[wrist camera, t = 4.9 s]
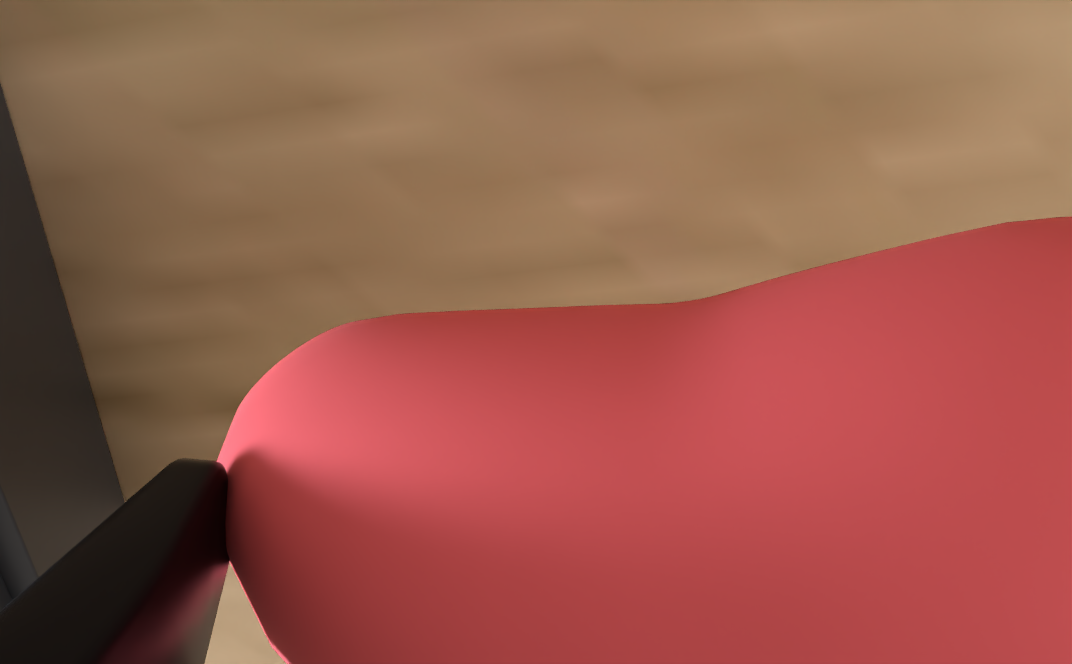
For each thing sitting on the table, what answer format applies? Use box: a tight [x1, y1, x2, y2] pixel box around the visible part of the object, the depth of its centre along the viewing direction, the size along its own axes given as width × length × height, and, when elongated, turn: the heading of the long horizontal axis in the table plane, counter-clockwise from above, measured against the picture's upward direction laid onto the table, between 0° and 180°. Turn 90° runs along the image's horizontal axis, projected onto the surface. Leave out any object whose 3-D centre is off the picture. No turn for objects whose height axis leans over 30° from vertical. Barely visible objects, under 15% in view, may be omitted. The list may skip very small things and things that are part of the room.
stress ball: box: [217, 217, 1072, 664], centre depth 9 cm, size 5×9×6 cm, turn 92°
